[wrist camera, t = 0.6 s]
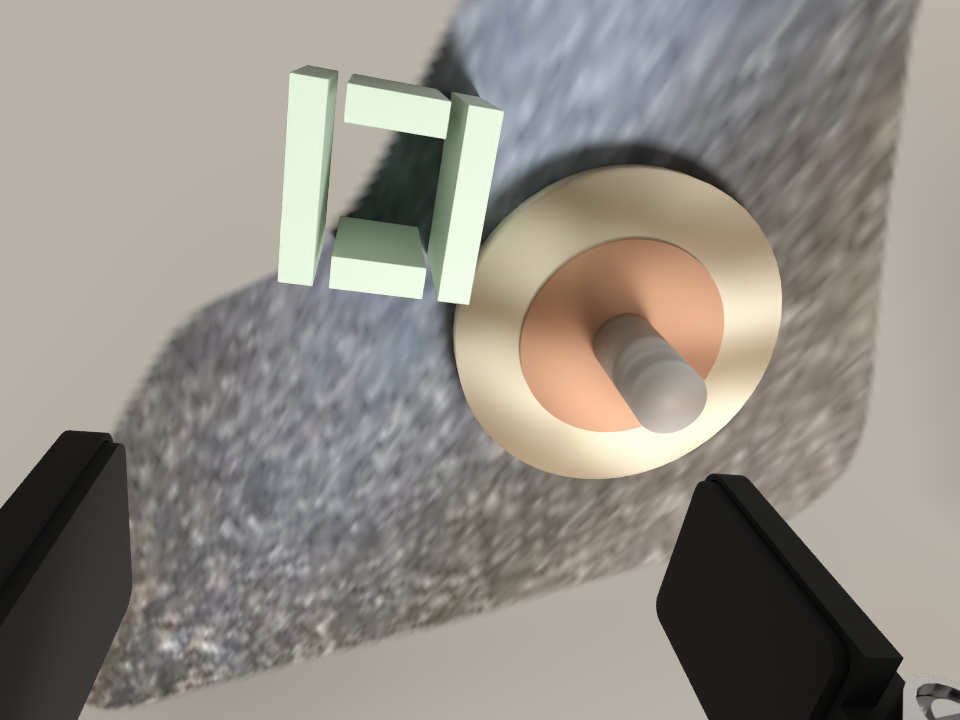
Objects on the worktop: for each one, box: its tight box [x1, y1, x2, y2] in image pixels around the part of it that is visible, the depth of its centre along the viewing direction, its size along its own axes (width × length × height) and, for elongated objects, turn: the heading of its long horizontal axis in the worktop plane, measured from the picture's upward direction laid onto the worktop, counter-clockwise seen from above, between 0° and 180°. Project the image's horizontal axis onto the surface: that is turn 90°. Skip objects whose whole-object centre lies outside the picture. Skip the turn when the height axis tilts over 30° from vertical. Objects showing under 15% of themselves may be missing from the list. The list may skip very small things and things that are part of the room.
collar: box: [278, 65, 504, 305], centre depth 26 cm, size 7×7×6 cm
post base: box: [453, 164, 782, 479], centre depth 30 cm, size 16×16×8 cm
